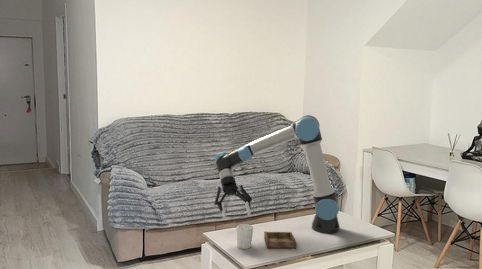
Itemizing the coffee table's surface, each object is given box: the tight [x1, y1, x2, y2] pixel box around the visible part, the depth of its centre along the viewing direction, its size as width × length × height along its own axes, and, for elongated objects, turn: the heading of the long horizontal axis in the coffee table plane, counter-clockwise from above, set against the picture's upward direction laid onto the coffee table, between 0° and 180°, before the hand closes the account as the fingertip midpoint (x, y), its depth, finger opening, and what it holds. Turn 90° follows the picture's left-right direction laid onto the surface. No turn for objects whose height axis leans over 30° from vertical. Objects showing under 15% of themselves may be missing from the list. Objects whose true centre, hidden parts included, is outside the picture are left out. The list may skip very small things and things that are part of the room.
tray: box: [263, 231, 297, 250], centre depth 217 cm, size 14×14×4 cm
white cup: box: [236, 223, 254, 250], centre depth 212 cm, size 8×8×10 cm
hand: (237, 215), depth 218 cm, fingers open, 13 cm apart
